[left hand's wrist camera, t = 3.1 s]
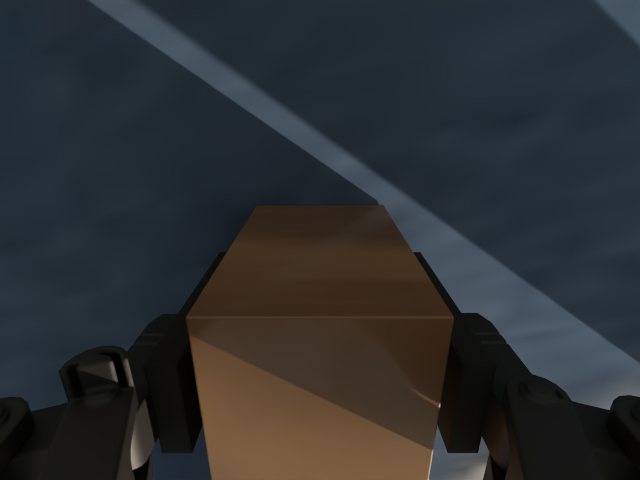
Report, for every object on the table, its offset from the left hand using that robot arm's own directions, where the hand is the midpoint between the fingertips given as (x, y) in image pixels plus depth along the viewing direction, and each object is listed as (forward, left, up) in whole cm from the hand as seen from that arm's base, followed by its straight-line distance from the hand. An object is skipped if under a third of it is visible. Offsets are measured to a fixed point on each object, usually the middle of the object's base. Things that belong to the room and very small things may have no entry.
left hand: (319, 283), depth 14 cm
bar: (+2, +8, -1) cm, 9 cm away
